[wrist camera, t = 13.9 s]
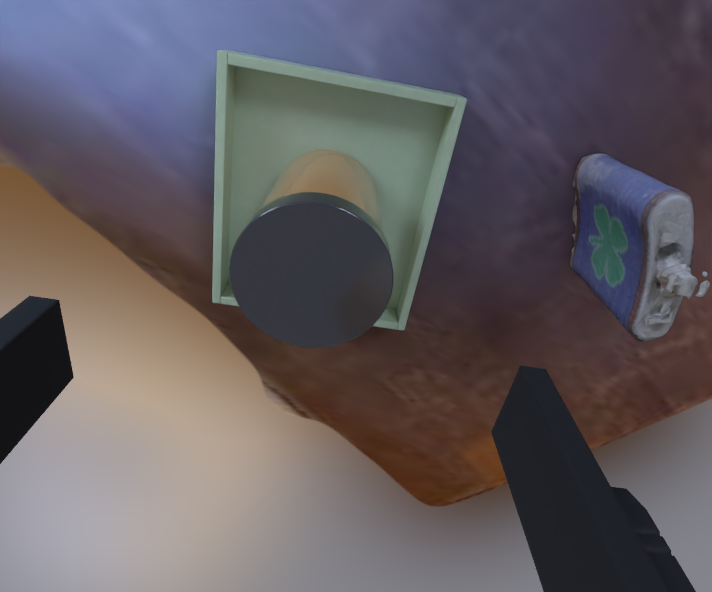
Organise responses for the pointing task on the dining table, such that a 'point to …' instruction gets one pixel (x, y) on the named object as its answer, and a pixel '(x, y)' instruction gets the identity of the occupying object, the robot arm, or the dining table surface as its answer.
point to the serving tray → (330, 132)
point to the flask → (633, 244)
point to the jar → (315, 254)
